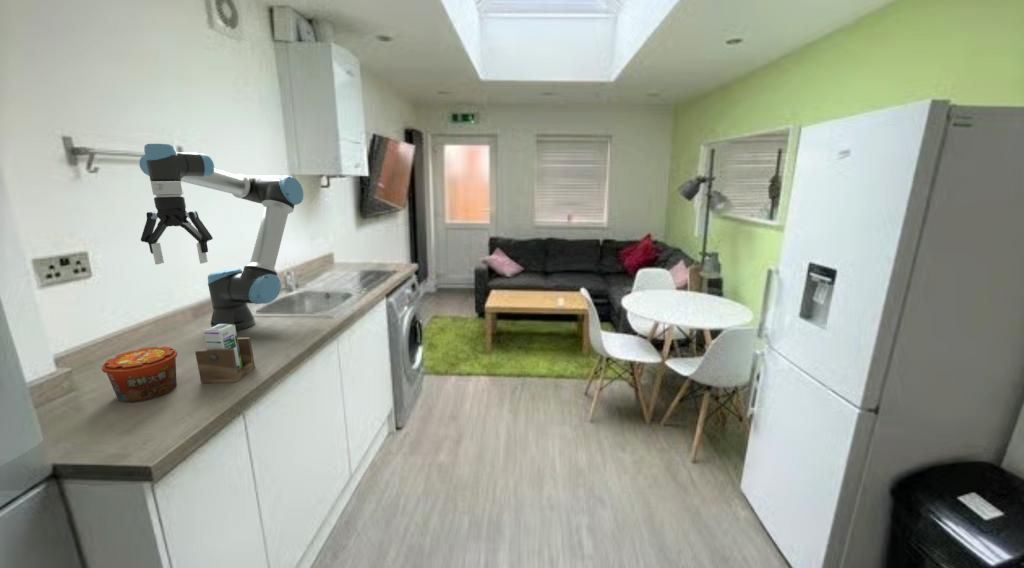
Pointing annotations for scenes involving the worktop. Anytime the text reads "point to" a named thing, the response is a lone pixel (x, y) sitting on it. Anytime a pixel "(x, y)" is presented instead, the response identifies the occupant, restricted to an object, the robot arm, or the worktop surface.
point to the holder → (225, 363)
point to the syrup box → (223, 340)
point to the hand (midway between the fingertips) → (181, 263)
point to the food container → (142, 373)
